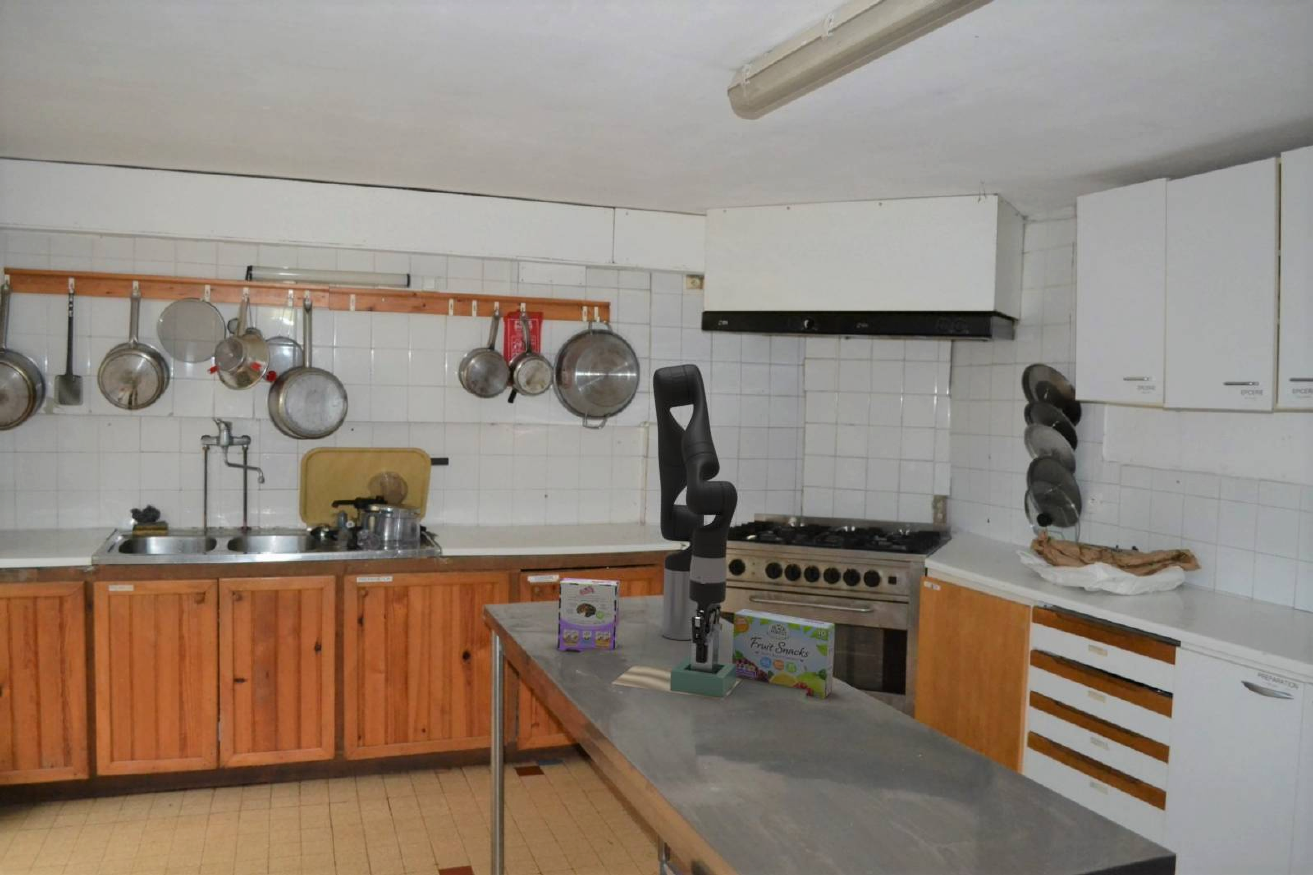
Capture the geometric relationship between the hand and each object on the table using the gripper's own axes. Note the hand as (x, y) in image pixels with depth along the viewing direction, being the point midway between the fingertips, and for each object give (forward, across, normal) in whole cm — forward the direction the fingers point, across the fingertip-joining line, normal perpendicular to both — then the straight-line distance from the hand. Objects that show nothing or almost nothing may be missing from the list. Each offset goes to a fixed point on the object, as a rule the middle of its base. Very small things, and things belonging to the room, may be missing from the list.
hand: (704, 658), depth 199 cm
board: (+7, -1, -6) cm, 9 cm away
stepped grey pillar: (+4, 0, 0) cm, 4 cm away
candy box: (+7, -19, -34) cm, 39 cm away
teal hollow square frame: (+6, 0, 0) cm, 6 cm away
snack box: (+7, -11, +14) cm, 19 cm away
